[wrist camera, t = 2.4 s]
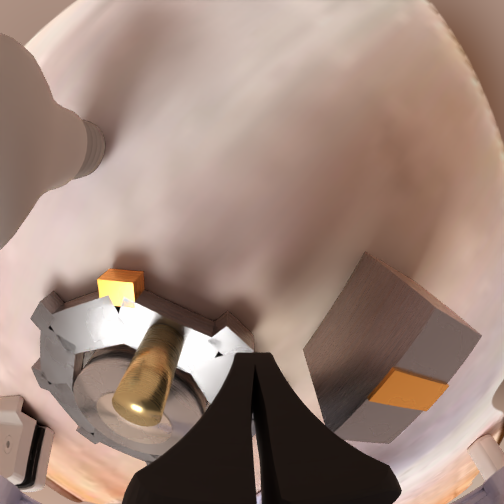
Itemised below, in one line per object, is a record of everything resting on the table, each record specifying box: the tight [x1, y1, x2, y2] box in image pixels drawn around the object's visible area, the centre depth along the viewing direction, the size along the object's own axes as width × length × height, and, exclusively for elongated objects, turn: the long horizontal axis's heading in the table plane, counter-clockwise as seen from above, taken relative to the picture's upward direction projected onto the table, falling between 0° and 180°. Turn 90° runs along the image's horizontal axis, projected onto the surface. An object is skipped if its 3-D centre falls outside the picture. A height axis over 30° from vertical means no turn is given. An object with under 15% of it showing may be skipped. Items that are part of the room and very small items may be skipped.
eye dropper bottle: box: [467, 434, 504, 481], centre depth 15 cm, size 4×6×12 cm
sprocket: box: [30, 269, 256, 465], centre depth 12 cm, size 15×15×6 cm
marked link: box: [303, 252, 482, 444], centre depth 11 cm, size 4×6×6 cm, turn 153°
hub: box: [73, 343, 206, 455], centre depth 13 cm, size 8×8×3 cm
